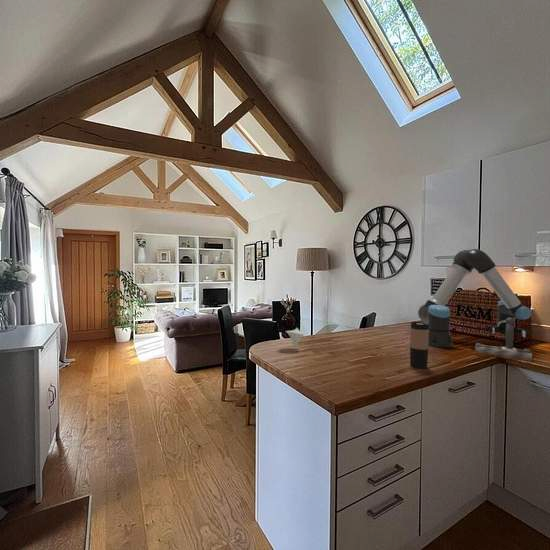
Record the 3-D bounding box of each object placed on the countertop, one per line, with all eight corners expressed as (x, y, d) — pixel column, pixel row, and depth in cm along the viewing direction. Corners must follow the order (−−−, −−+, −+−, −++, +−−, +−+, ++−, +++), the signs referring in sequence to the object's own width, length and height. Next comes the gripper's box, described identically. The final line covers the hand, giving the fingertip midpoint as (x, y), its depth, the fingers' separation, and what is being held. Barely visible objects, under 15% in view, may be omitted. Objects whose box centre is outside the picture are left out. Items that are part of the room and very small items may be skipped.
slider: (502, 353, 164) (503, 317, 164) (501, 351, 168) (502, 316, 168) (516, 354, 161) (517, 318, 161) (515, 352, 165) (516, 317, 165)
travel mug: (408, 366, 142) (410, 323, 142) (410, 362, 149) (411, 321, 149) (427, 369, 139) (428, 325, 138) (428, 365, 145) (429, 322, 145)
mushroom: (293, 346, 177) (294, 325, 177) (308, 349, 169) (308, 327, 169) (280, 349, 170) (281, 327, 169) (295, 353, 162) (296, 330, 162)
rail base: (475, 353, 168) (475, 345, 168) (475, 349, 178) (475, 341, 178) (532, 361, 155) (532, 352, 155) (528, 356, 165) (529, 347, 165)
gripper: (532, 336, 181) (538, 343, 164) (481, 331, 195) (481, 336, 177) (532, 323, 181) (538, 329, 163) (481, 319, 195) (481, 323, 177)
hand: (508, 333), depth 170 cm, fingers open, 13 cm apart
